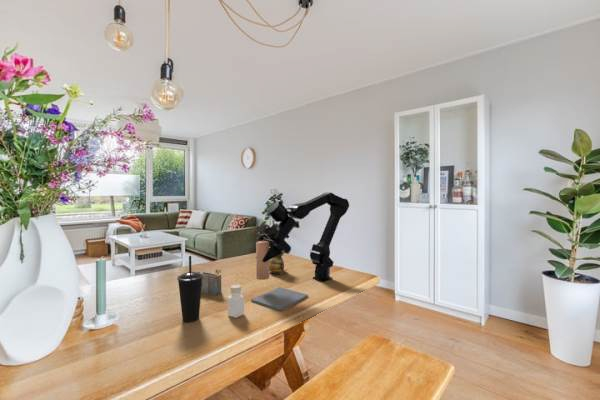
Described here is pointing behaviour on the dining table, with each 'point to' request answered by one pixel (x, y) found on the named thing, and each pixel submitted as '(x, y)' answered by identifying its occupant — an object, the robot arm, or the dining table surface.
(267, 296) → the rubber mat
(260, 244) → the wooden peg
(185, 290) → the drinking cup
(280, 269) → the decorative figurine
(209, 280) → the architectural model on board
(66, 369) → the dining table surface
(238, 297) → the pepper shaker
